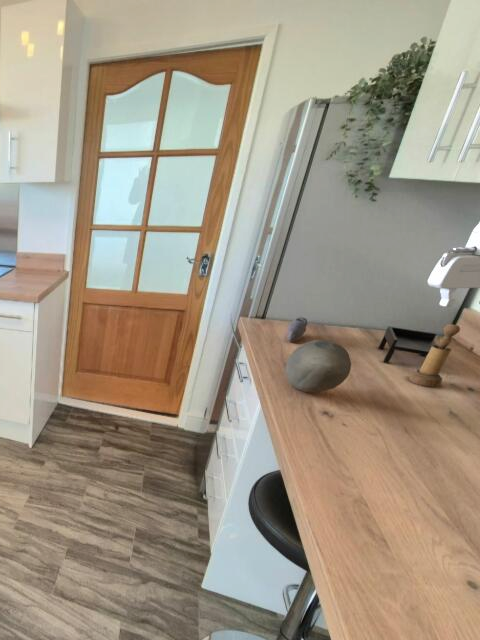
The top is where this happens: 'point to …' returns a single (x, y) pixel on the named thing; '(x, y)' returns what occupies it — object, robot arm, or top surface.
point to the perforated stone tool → (296, 329)
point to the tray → (407, 341)
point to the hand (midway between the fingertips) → (465, 305)
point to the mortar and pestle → (435, 360)
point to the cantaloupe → (318, 366)
